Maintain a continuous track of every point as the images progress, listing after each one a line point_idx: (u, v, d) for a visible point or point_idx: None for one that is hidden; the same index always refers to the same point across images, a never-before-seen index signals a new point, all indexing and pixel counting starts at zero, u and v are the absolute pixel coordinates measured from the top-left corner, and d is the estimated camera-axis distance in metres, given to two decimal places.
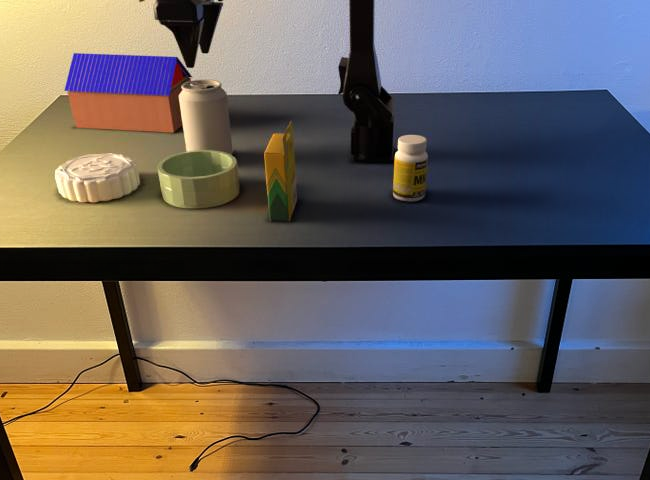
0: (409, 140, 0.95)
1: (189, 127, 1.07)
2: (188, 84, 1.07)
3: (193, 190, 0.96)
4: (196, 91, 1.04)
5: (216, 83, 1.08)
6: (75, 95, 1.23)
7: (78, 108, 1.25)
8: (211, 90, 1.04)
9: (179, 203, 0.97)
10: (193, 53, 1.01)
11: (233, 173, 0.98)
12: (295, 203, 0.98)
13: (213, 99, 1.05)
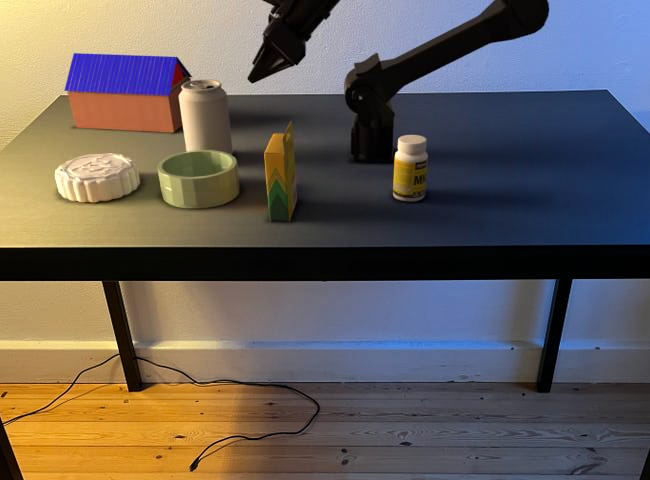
0: (409, 140, 0.95)
1: (189, 127, 1.07)
2: (188, 84, 1.07)
3: (193, 190, 0.96)
4: (196, 91, 1.04)
5: (216, 83, 1.08)
6: (75, 95, 1.23)
7: (78, 108, 1.25)
8: (211, 90, 1.04)
9: (179, 203, 0.97)
10: (263, 75, 1.00)
11: (233, 173, 0.98)
12: (295, 203, 0.98)
13: (213, 99, 1.05)
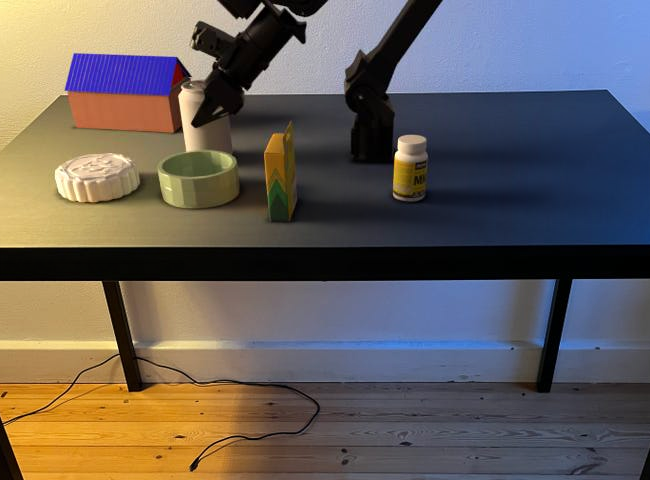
0: (409, 140, 0.95)
1: (189, 127, 1.07)
2: (188, 84, 1.07)
3: (193, 190, 0.96)
4: (196, 91, 1.04)
5: None
6: (75, 95, 1.23)
7: (78, 108, 1.25)
8: None
9: (179, 203, 0.97)
10: (206, 121, 1.05)
11: (233, 173, 0.98)
12: (295, 203, 0.98)
13: None
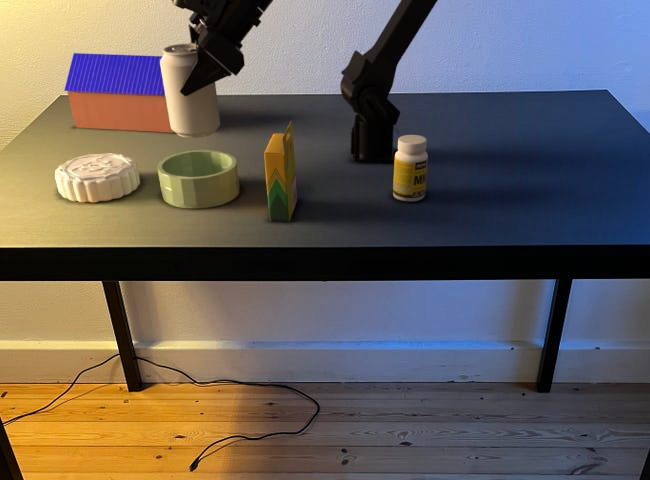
0: (409, 140, 0.95)
1: (177, 96, 0.97)
2: (168, 49, 0.98)
3: (193, 190, 0.96)
4: (183, 55, 0.95)
5: None
6: (75, 95, 1.23)
7: (78, 108, 1.25)
8: None
9: (179, 203, 0.97)
10: (197, 87, 0.96)
11: (233, 173, 0.98)
12: (295, 203, 0.98)
13: None
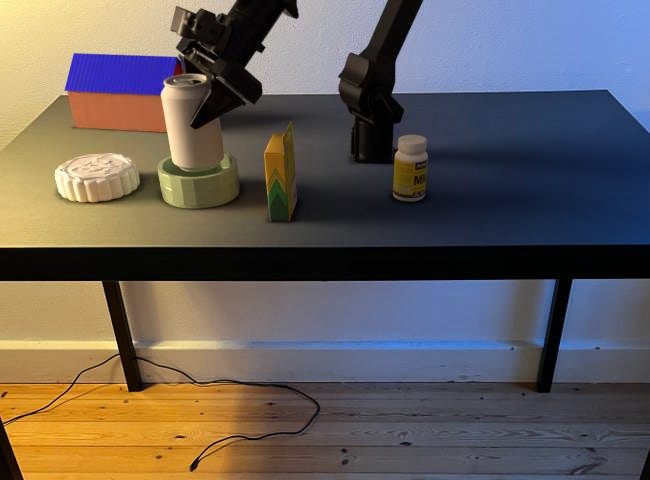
0: (409, 140, 0.95)
1: (185, 130, 0.93)
2: (167, 82, 0.93)
3: (193, 190, 0.96)
4: (191, 87, 0.90)
5: (197, 76, 0.94)
6: (75, 95, 1.23)
7: (78, 108, 1.25)
8: (206, 83, 0.91)
9: (179, 203, 0.97)
10: (208, 119, 0.92)
11: (233, 173, 0.98)
12: (295, 203, 0.98)
13: None
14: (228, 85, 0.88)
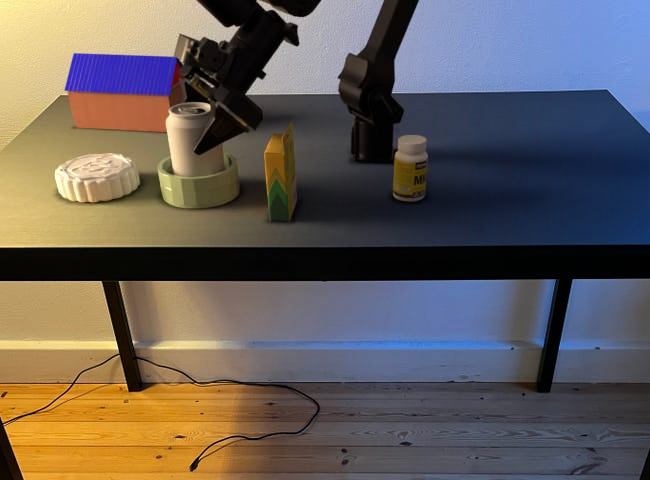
0: (409, 140, 0.95)
1: (189, 157, 0.95)
2: (172, 110, 0.95)
3: (193, 190, 0.96)
4: (196, 116, 0.92)
5: (201, 105, 0.97)
6: (75, 95, 1.23)
7: (78, 108, 1.25)
8: (210, 112, 0.94)
9: (179, 203, 0.97)
10: (212, 145, 0.93)
11: (233, 173, 0.98)
12: (295, 203, 0.98)
13: None
14: (232, 113, 0.90)
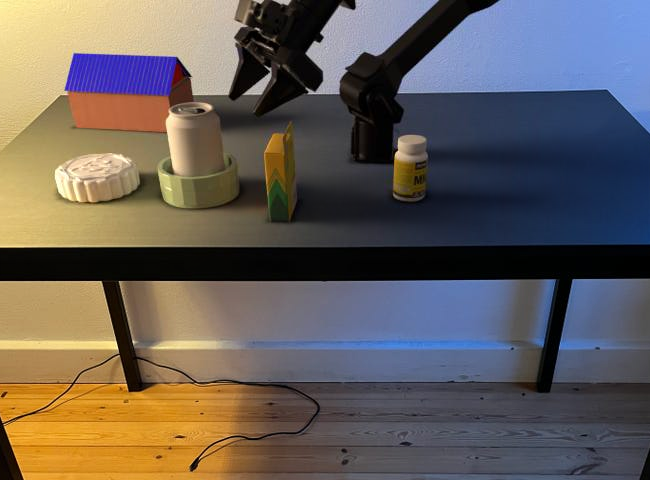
0: (409, 140, 0.95)
1: (189, 157, 0.95)
2: (172, 110, 0.95)
3: (193, 190, 0.96)
4: (196, 116, 0.92)
5: (201, 105, 0.97)
6: (75, 95, 1.23)
7: (78, 108, 1.25)
8: (210, 112, 0.94)
9: (179, 203, 0.97)
10: (271, 107, 0.95)
11: (233, 173, 0.98)
12: (295, 203, 0.98)
13: (214, 122, 0.94)
14: (293, 74, 0.91)
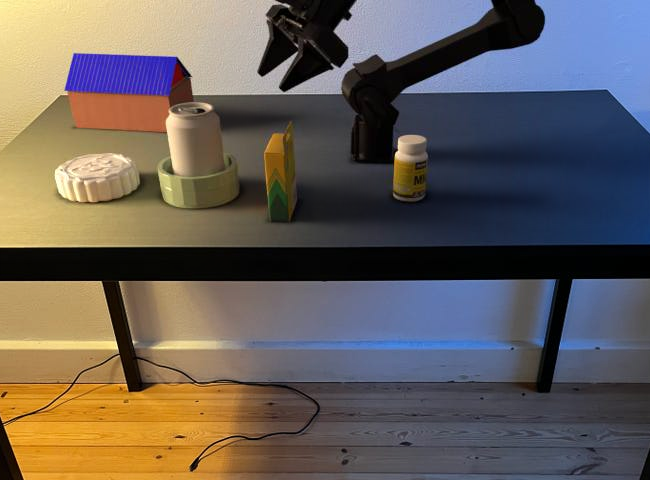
0: (409, 140, 0.95)
1: (189, 157, 0.95)
2: (172, 110, 0.95)
3: (193, 190, 0.96)
4: (196, 116, 0.92)
5: (201, 105, 0.97)
6: (75, 95, 1.23)
7: (78, 108, 1.25)
8: (210, 112, 0.94)
9: (179, 203, 0.97)
10: (297, 82, 0.97)
11: (233, 173, 0.98)
12: (295, 203, 0.98)
13: (214, 122, 0.94)
14: (319, 49, 0.93)
